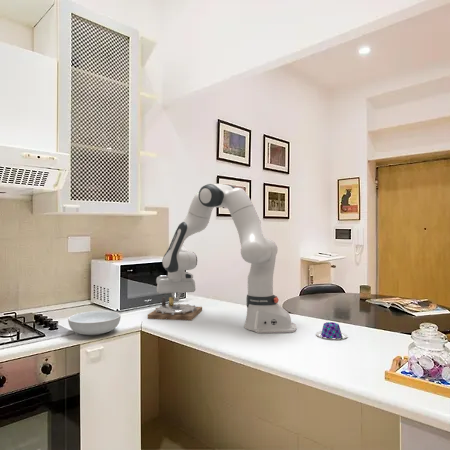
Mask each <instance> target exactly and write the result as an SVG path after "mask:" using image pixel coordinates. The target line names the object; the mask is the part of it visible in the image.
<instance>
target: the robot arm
mask: <svg viewBox="0 0 450 450" xmlns="http://www.w3.org/2000/svg"><path fill="white" fill-rule="evenodd" d="M225 207H226V208H227V209H228V211H229V214H230V216H231V218H232V222H233V224H234V226H235V228H236V230H237V233H238V237H239V243H240V247H241V248H240V255H241V258H242V260H244V261H245V262H246V263H249V264H250V269H249V272H248V275H247V294H246V310H247V311H246V317H245V323H244V325H243V328H245V330H248V331H252V332H255V333H256V334H257V333H258V334H269V333H270V334H271V333H272V334H273V333H275V334H277V333H280V334H281V333H294V332H296V331H297V325H296V323H294V322H292V317H291V315H290V313H289V311H287V310H286V309H284V307H282V306H281V305H280V304H278V303H279V297H278V296H276V295H274V273H275V267H276V266H275V265H276V258H277V257H276V256H277V254H278V246H277V244H276V242H275V241H273V240H272V239H271V238H268V237H265V236H264V234H263V230H262V226H261V225H262V224H261V223H262V222H261V219H260V217H259V215H258V212H257V211H256V207H255V205H254V204H253V202H252V200H251V198H250V196H249V195H248V194H247V192H246V191H245V190H244V188H241V187H235V186H233V185H231V184H224V183H207V184H205V185H203V186H201V187H200V189H199V191H197V192H196V193H195V194H194V196H193V198H192V200H191V203H190V205H189V208H188V212H187V213H186V214H187V215H186V216H185V218H184V219H183V220H182V222H181V223H179V224H178V226H177V228H176V230H175V232H174V235H173V236H172V238H171V239H172V240H171V241H170V244H169V246H168V248H167V251H166V252H165V253H164V255H163V257H162V261H161V263H162V267H163V268H164V269H165V271H167V274H166V275H159V276H157V277H156V279H155V283H156V284H157V285H156V293H157V294H158V295H159V294H171V297H173V298H174V302H179V300H180V299H179V298H180V297H181V295H182V293H183V294H184V293H195V291H196V282H195V280H194V274H193V273H191V272H188V271H191V270H194V269H195V268H196V267H197V265H198V256H197V255H196V253H195V252H194V251H191V250H189V249H187V248H186V247H185V245H184V243H185V241H186V240H187V239H188V238H189V237H190V236H193V235H194V234H196V233H197V234H198V233H200V232H203V230H206V228H207V226H208V225H209V223H210V219H211V216H212V212H213V209H214V208H225ZM175 294H177V296H176V297H175Z"/></svg>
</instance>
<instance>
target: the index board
mask: <svg viewBox="0 0 450 450" xmlns="http://www.w3.org/2000/svg"><path fill="white" fill-rule="evenodd" d="M166 298H167V297H166V296H162V297H161V306H165V305H167V303H166V302H167V301H166V300H167V299H166ZM196 307H197V310H194V312H189V313H185V314H174V315H172V314H162V313H160V312H158V313H157V312H156V309H155V310H153V311H151V312H149V313H148V314H147V319H148V320H149V319H150V320H168V321H169V320H171V321H193V320H194V319H195V318H196V317H197V316H198V315H199V314H200V313H201V312H202V311H203V306H196Z"/></svg>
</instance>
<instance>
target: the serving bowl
mask: <svg viewBox="0 0 450 450" xmlns="http://www.w3.org/2000/svg"><path fill="white" fill-rule="evenodd" d="M67 320H68V326H69V328H70V329H71V330H72V331H73V332H75V333H77V334H80V335H84V336H85V335H86V336H99V335H102V334H105V333H106V334H107V333H108V332H111V331H113V330H114V329H115V328H116V327H118V325H119V323H120V321H121V313H119V312H117V311H114V310H113V311H112V310H90V311H83V312H78V313H75V314H73V315H70V316H69V317H68V318H67Z"/></svg>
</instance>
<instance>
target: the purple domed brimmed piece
mask: <svg viewBox="0 0 450 450" xmlns="http://www.w3.org/2000/svg"><path fill="white" fill-rule="evenodd" d="M319 334H321V335H322V336H321V337H320V336H319ZM342 334H343V335H344V336H345V338H343V339H346V338H348V335H347V334H345V333H344V332H342V330H341V326H340V324H339V323H337V322H331V321H328V322H324V323H323V326H322V330H321V331H318V332H316V333H315V335H316V336H317V337H319V338H322V337H323V338H324V337H326V338H324V339H326V340H328V339H327V338H338V339H341V336H342ZM323 338H322V339H323ZM338 339H333V340H336V341H337V340H338ZM343 339H342V340H343Z"/></svg>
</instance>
